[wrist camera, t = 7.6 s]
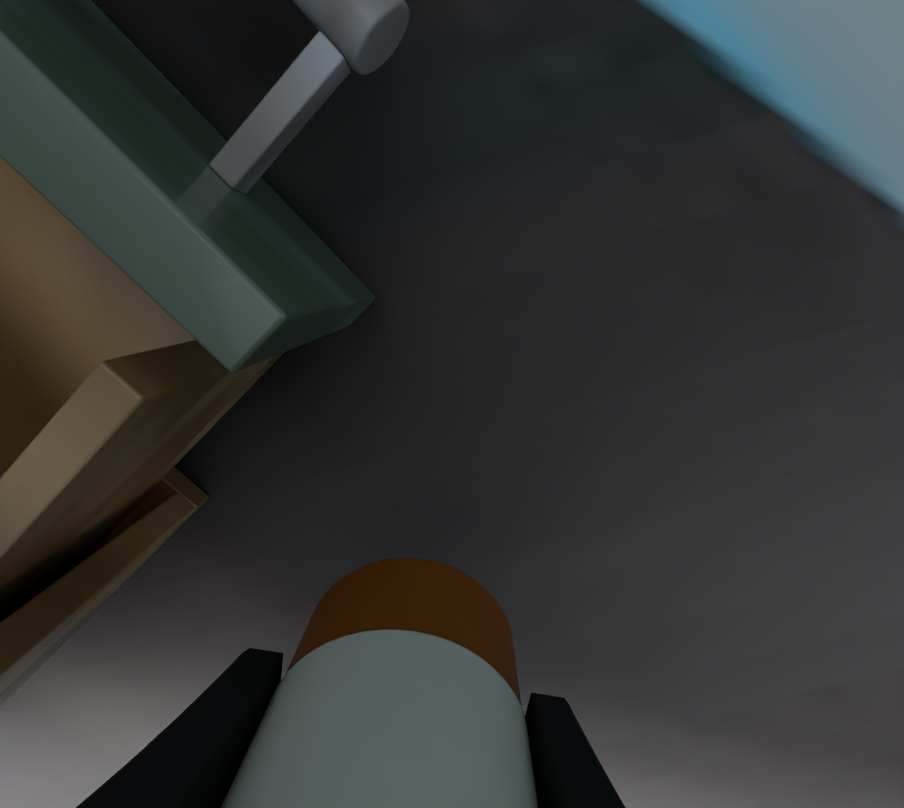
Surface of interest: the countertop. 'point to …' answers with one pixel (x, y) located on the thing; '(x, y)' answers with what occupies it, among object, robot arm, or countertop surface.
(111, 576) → the cabinet
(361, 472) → the countertop surface
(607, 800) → the robot arm
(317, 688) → the bottle
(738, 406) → the countertop surface
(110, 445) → the drawer
